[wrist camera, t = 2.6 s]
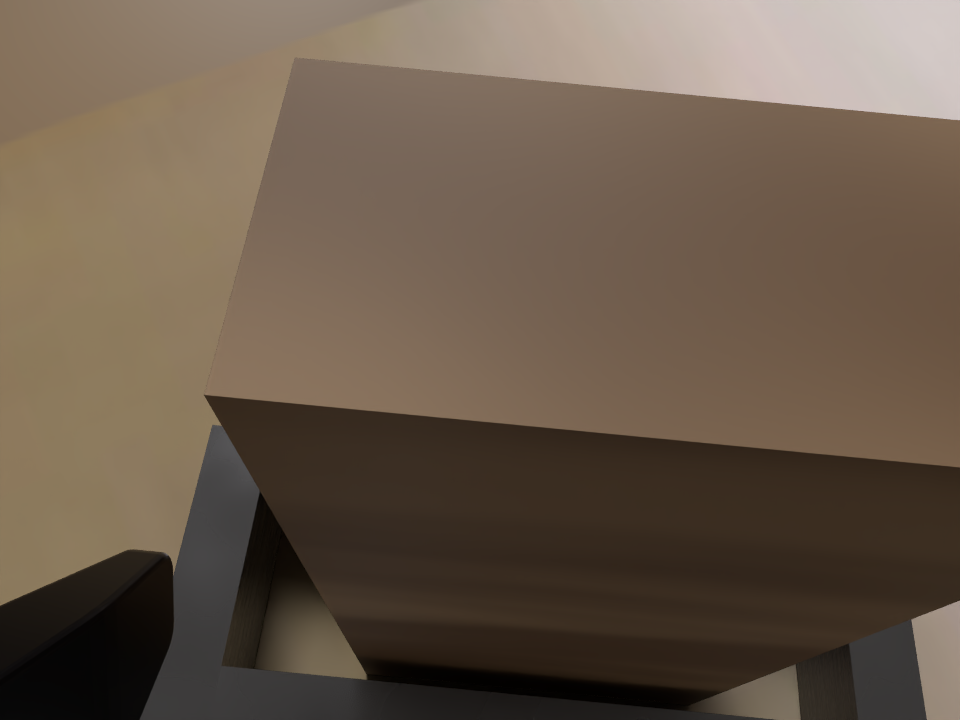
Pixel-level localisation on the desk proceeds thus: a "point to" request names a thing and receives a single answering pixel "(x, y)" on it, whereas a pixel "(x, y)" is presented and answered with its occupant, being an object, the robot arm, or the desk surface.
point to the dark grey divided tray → (406, 707)
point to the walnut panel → (600, 375)
